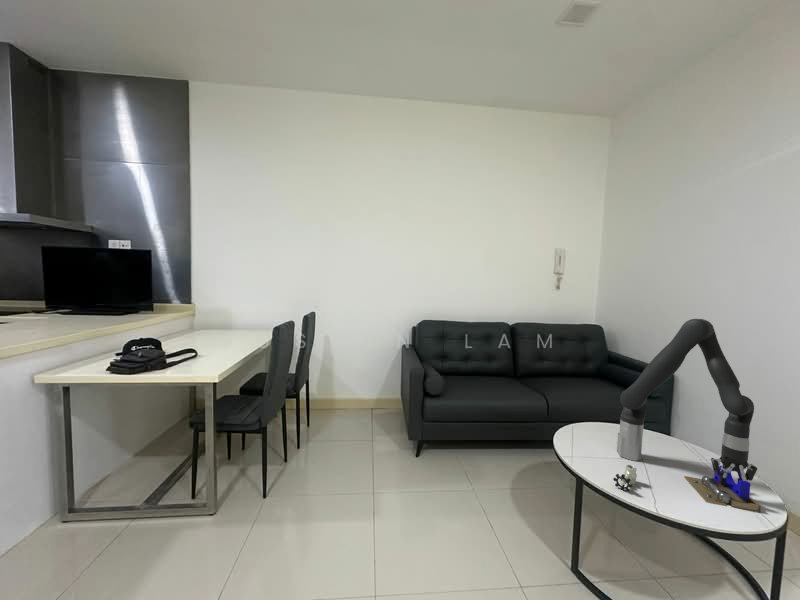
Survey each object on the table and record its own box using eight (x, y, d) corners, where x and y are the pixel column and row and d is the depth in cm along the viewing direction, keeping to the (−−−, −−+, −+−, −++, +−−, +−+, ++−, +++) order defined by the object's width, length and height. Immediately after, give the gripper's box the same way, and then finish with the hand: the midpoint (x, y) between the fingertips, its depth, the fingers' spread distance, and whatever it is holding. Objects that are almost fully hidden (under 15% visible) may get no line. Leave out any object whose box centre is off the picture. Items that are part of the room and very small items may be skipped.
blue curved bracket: (713, 478, 139) (715, 464, 139) (726, 480, 138) (728, 466, 138) (734, 496, 128) (736, 481, 127) (749, 498, 127) (750, 483, 126)
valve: (622, 476, 144) (612, 486, 137) (623, 462, 144) (613, 471, 136) (641, 484, 139) (631, 495, 132) (642, 469, 139) (632, 479, 131)
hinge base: (705, 501, 129) (706, 493, 128) (684, 477, 145) (684, 470, 145) (760, 512, 123) (761, 503, 123) (731, 486, 140) (732, 478, 139)
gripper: (718, 446, 130) (714, 488, 131) (765, 453, 126) (761, 497, 127) (707, 438, 138) (704, 478, 139) (751, 444, 133) (748, 485, 134)
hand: (731, 486), depth 133 cm, fingers closed on blue curved bracket, 4 cm apart
